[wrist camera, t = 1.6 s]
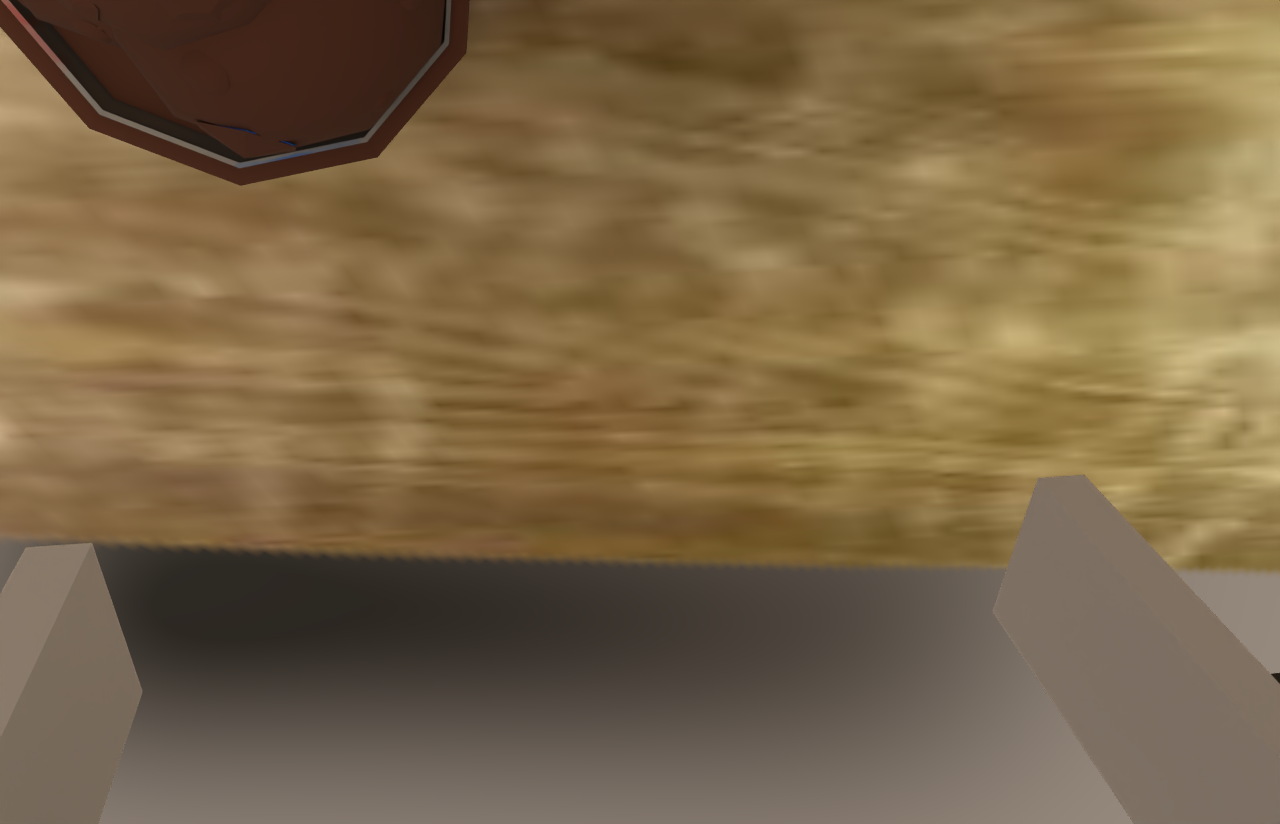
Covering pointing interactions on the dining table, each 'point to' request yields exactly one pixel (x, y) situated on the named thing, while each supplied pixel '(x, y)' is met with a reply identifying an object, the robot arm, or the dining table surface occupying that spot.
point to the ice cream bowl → (244, 74)
